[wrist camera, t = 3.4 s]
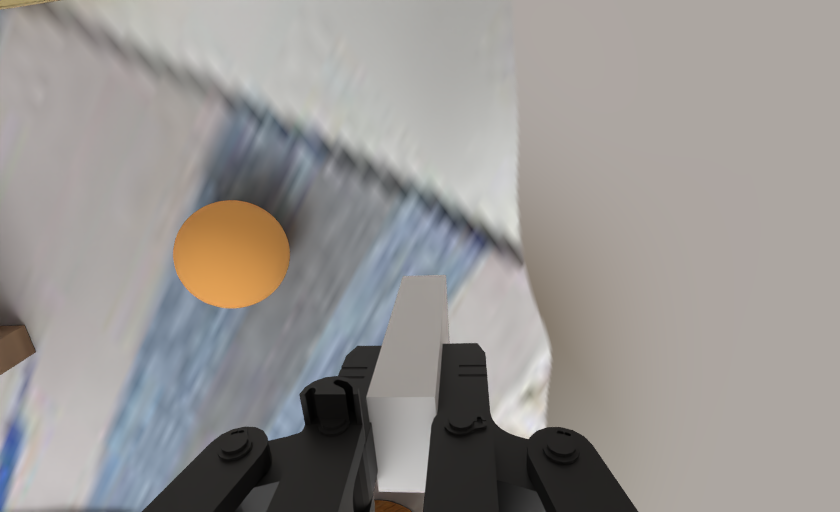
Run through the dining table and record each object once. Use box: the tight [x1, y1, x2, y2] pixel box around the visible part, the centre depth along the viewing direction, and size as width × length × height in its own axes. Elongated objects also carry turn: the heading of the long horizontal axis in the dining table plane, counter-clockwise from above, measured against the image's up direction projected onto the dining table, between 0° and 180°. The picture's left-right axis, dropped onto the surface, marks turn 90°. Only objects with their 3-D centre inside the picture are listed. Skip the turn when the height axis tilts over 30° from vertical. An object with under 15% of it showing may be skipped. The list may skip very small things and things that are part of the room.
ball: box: [173, 200, 290, 308], centre depth 24 cm, size 6×6×6 cm
